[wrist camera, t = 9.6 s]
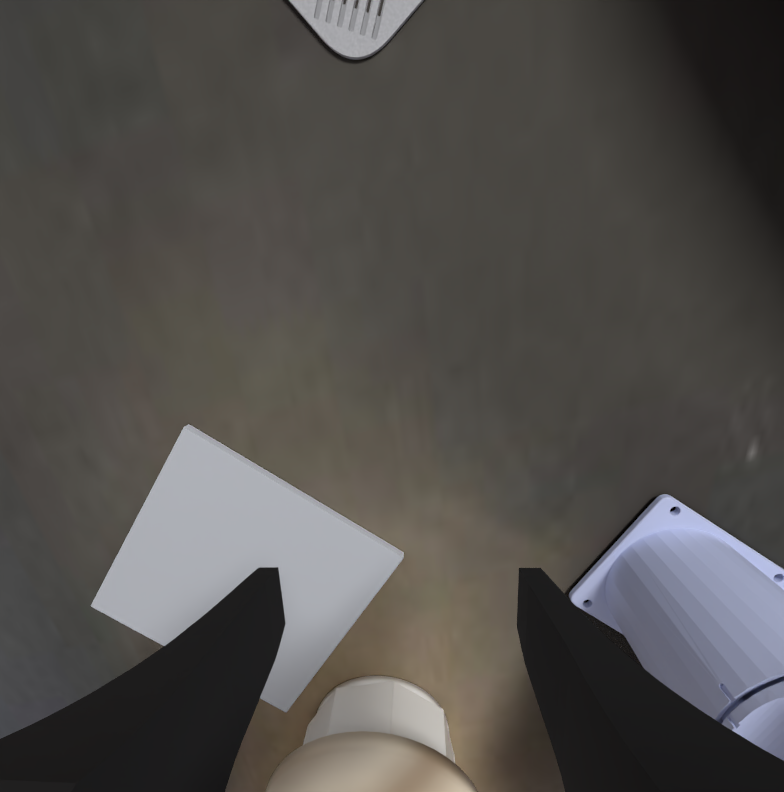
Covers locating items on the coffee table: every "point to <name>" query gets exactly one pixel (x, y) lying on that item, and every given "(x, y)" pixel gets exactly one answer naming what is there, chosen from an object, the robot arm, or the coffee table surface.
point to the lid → (367, 766)
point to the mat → (243, 558)
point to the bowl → (383, 712)
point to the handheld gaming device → (355, 23)
